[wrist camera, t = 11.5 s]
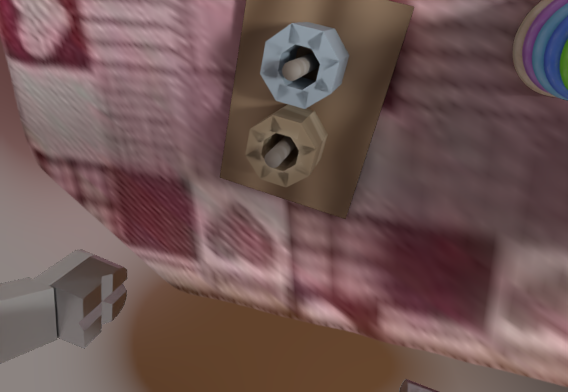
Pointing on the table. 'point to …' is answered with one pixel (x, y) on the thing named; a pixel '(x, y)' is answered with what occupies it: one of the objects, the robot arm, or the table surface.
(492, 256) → the table surface
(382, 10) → the gear board
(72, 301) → the robot arm
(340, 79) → the loose gear
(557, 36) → the stacking toy
